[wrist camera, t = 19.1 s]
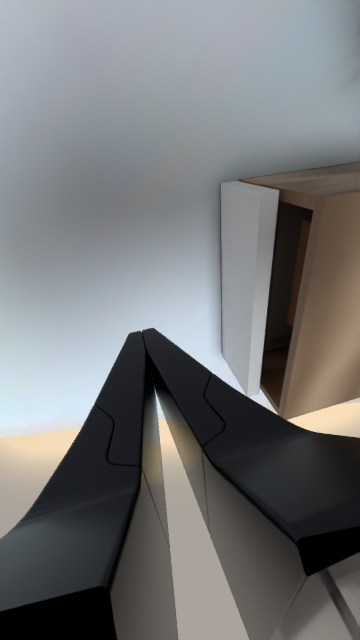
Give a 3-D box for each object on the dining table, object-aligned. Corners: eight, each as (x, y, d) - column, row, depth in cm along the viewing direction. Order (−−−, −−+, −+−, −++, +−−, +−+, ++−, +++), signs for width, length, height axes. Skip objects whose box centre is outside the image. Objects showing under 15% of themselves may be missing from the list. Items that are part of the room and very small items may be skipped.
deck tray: (222, 355, 26) (247, 396, 21) (220, 182, 17) (260, 193, 13) (349, 323, 28) (394, 355, 23) (401, 156, 19) (486, 157, 15)
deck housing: (234, 350, 26) (282, 421, 19) (238, 179, 18) (325, 197, 11) (357, 319, 28) (439, 373, 21) (412, 154, 20) (574, 155, 13)
